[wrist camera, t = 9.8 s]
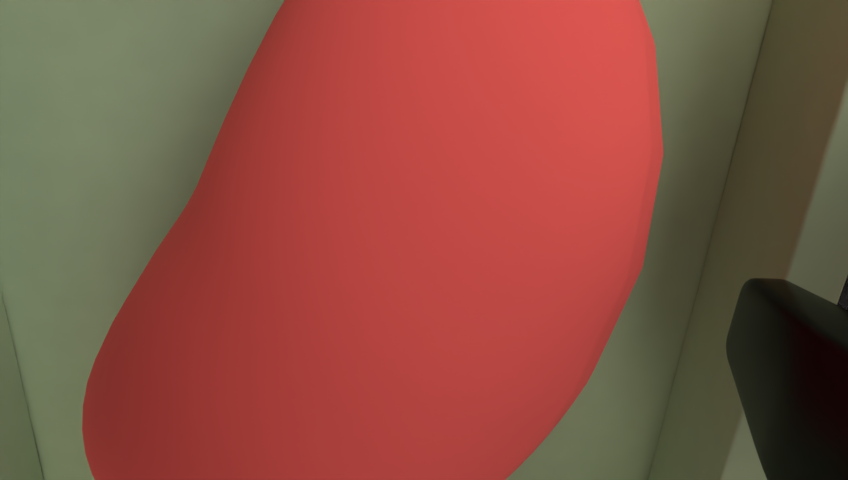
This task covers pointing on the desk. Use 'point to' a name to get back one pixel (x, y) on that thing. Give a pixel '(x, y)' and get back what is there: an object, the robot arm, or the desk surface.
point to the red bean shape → (392, 248)
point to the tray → (201, 122)
